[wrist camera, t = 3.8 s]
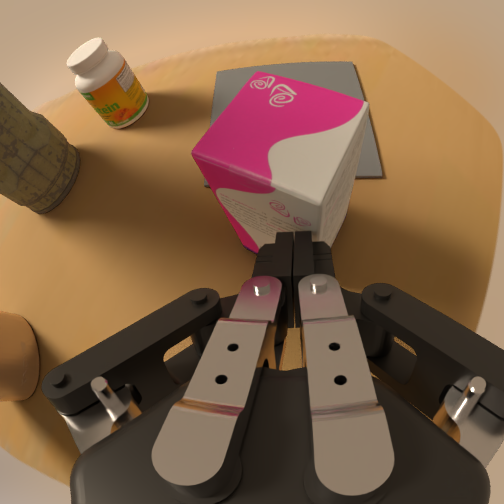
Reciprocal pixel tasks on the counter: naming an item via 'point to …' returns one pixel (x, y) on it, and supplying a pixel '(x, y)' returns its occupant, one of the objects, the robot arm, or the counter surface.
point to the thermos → (33, 157)
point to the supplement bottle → (108, 83)
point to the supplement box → (284, 158)
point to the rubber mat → (315, 73)
